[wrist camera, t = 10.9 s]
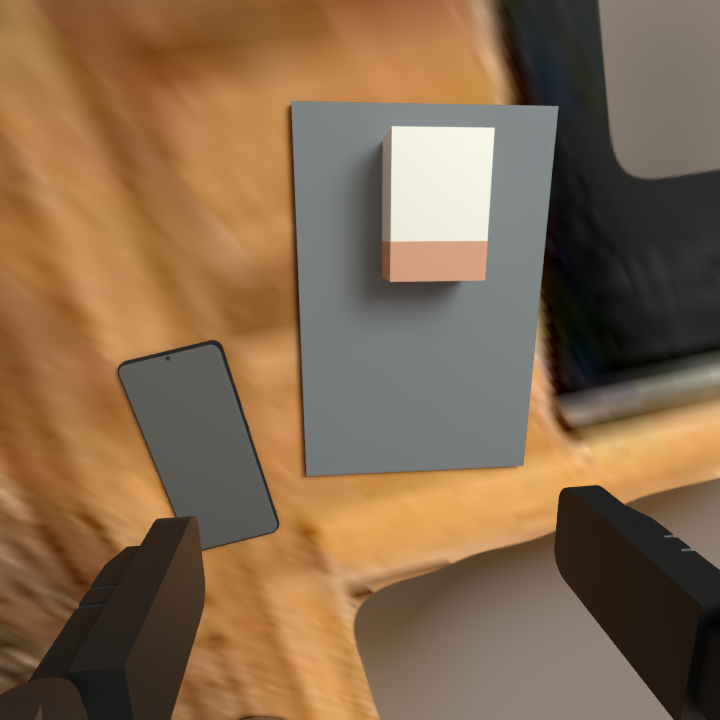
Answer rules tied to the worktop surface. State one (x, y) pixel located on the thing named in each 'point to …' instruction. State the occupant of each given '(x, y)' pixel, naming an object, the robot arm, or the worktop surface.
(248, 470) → the smartphone
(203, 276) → the worktop surface
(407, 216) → the card box
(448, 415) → the mat
